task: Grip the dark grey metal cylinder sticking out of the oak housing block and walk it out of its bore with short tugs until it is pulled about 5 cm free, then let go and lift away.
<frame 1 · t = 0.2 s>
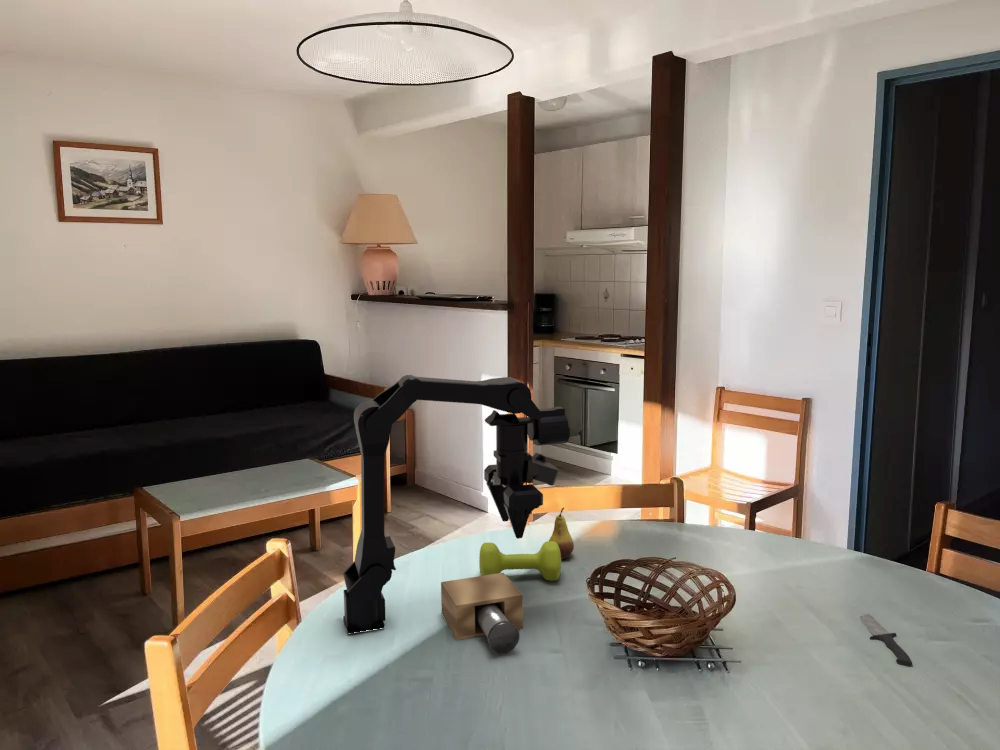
hand: (512, 529, 141), 14 cm above the table, tool pointing down, fingers open, 9 cm apart
knife: (877, 635, 131), on the table
dark grey metal cylinder: (490, 618, 131), point 3 cm above the table, slide at 0.0 cm
dumbbell: (520, 579, 155), on the table
fruit: (560, 557, 165), on the table
housing: (481, 621, 136), on the table
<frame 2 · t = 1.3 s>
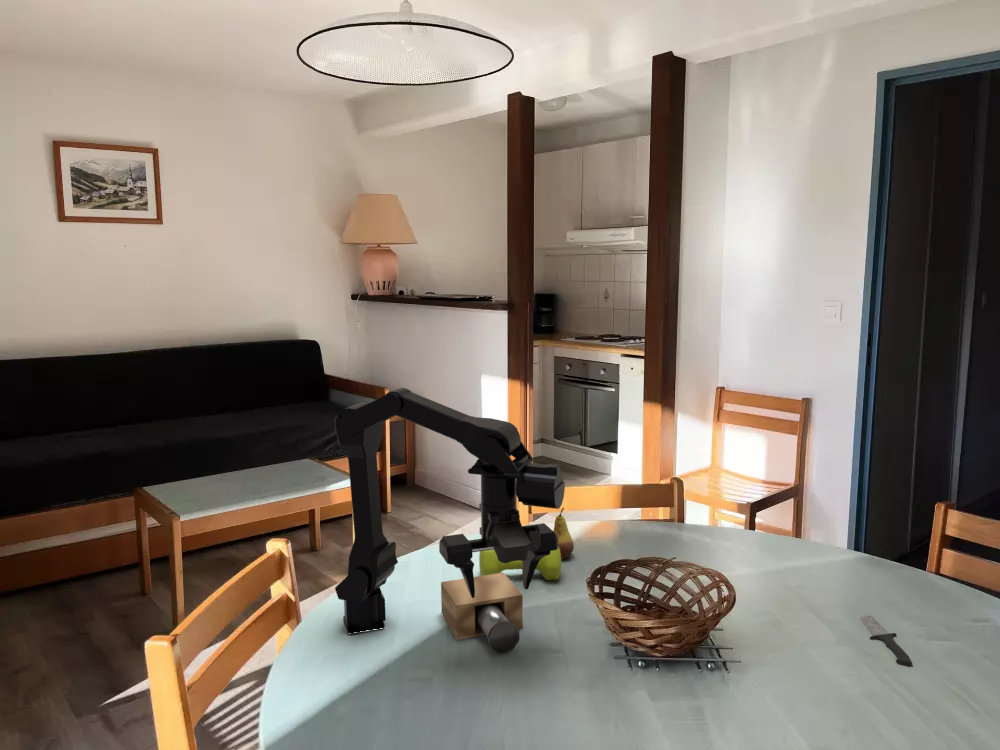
hand: (499, 592, 125), 10 cm above the table, tool pointing down, fingers open, 9 cm apart
nothing on the table moved.
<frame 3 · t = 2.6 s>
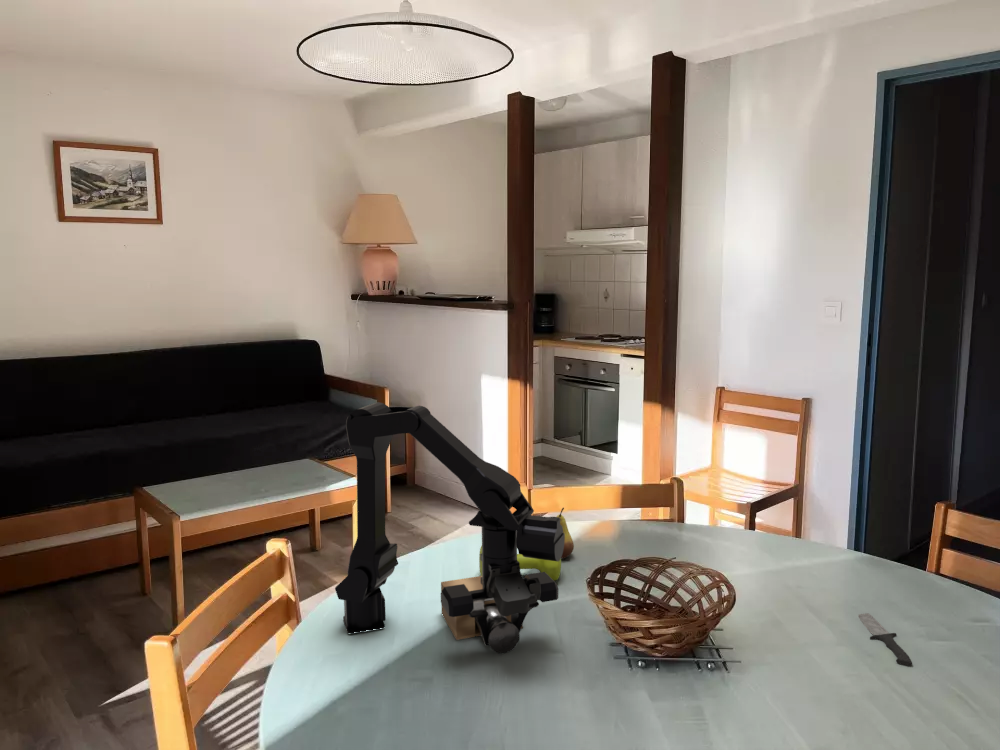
hand: (500, 641, 126), 1 cm above the table, tool pointing down, fingers closed on dark grey metal cylinder, 4 cm apart
dark grey metal cylinder: (490, 618, 131), point 3 cm above the table, slide at 0.0 cm, touching gripper
everything else where it was.
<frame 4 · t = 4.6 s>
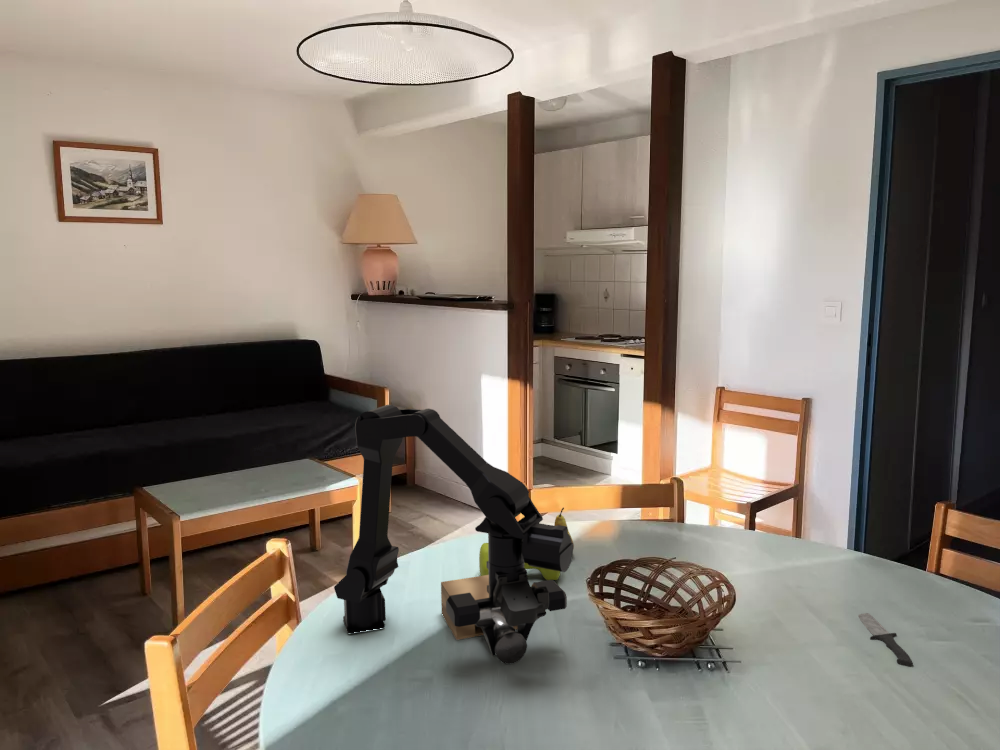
hand: (507, 651, 123), 1 cm above the table, tool pointing down, fingers closed on dark grey metal cylinder, 4 cm apart
dark grey metal cylinder: (496, 627, 128), point 3 cm above the table, slide at 3.4 cm, touching gripper
everything else where it was.
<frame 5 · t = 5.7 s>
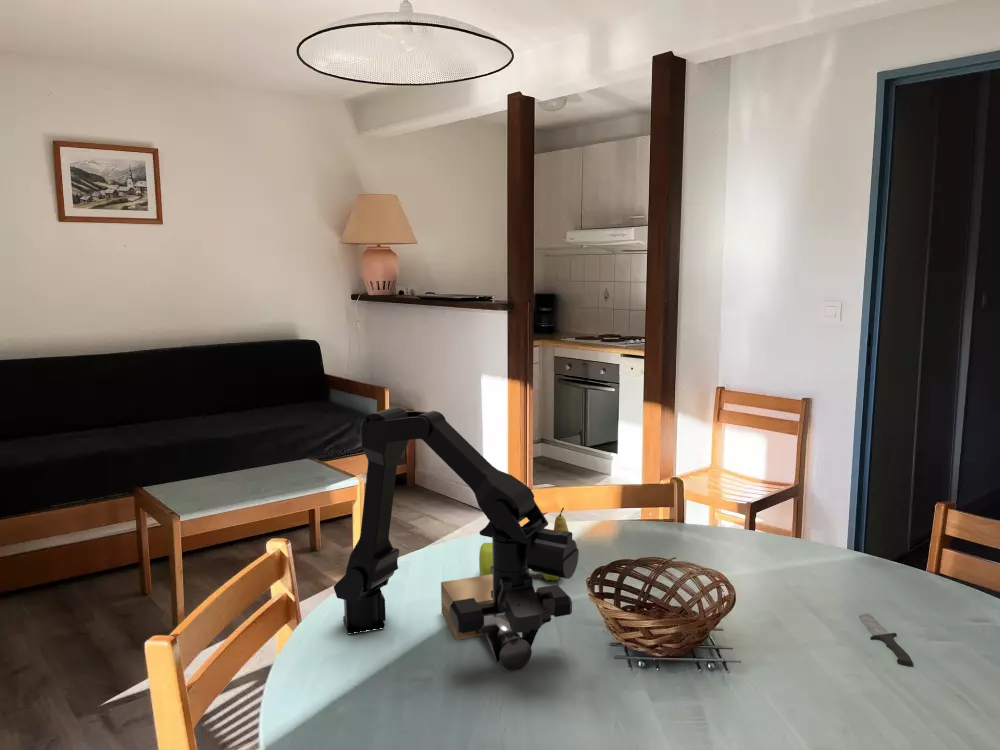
hand: (511, 658, 121), 1 cm above the table, tool pointing down, fingers closed on dark grey metal cylinder, 4 cm apart
dark grey metal cylinder: (500, 633, 126), point 3 cm above the table, slide at 5.5 cm, touching gripper
everything else where it was.
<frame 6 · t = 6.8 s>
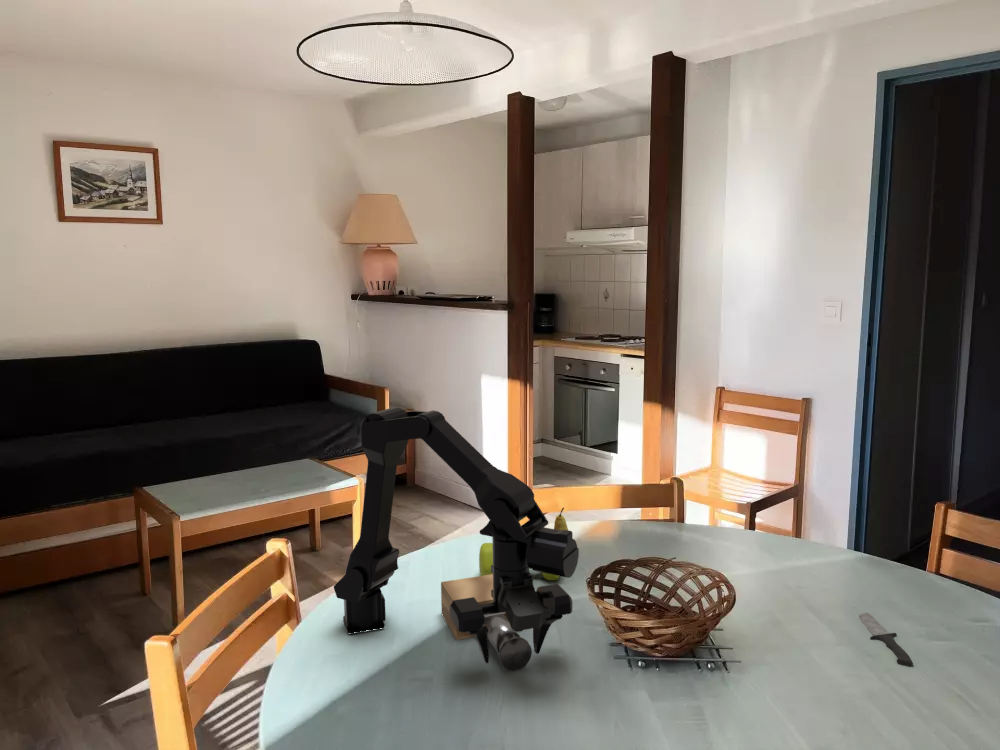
hand: (511, 657, 121), 1 cm above the table, tool pointing down, fingers open, 8 cm apart
dark grey metal cylinder: (500, 633, 126), point 3 cm above the table, slide at 5.5 cm
everything else where it was.
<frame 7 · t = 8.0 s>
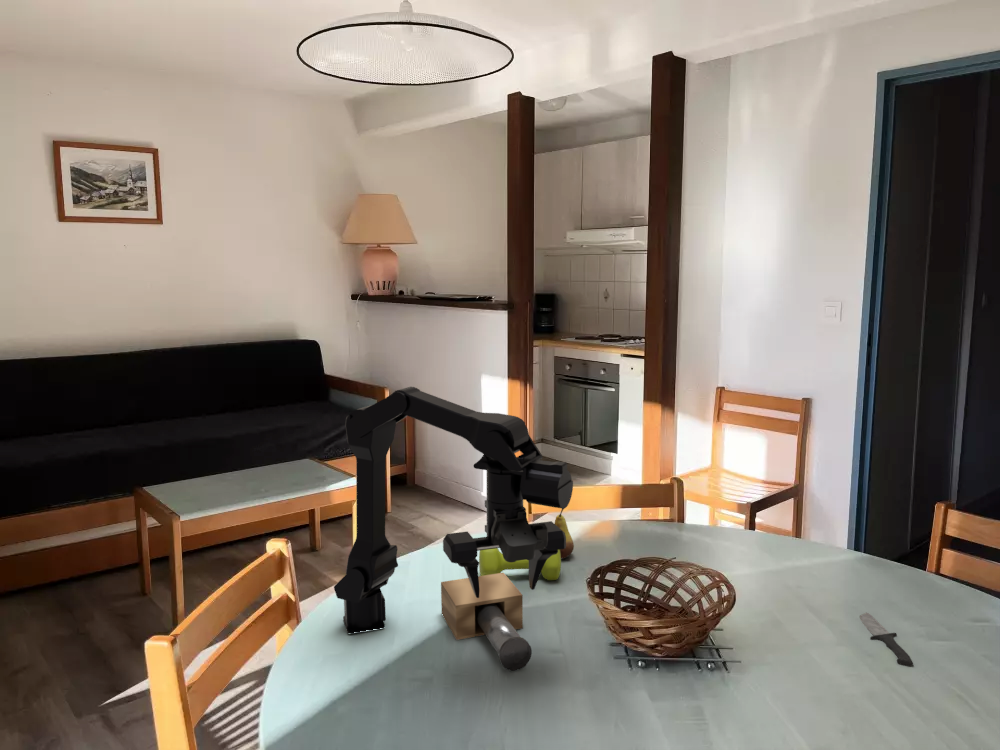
hand: (504, 592, 121), 12 cm above the table, tool pointing down, fingers open, 9 cm apart
nothing on the table moved.
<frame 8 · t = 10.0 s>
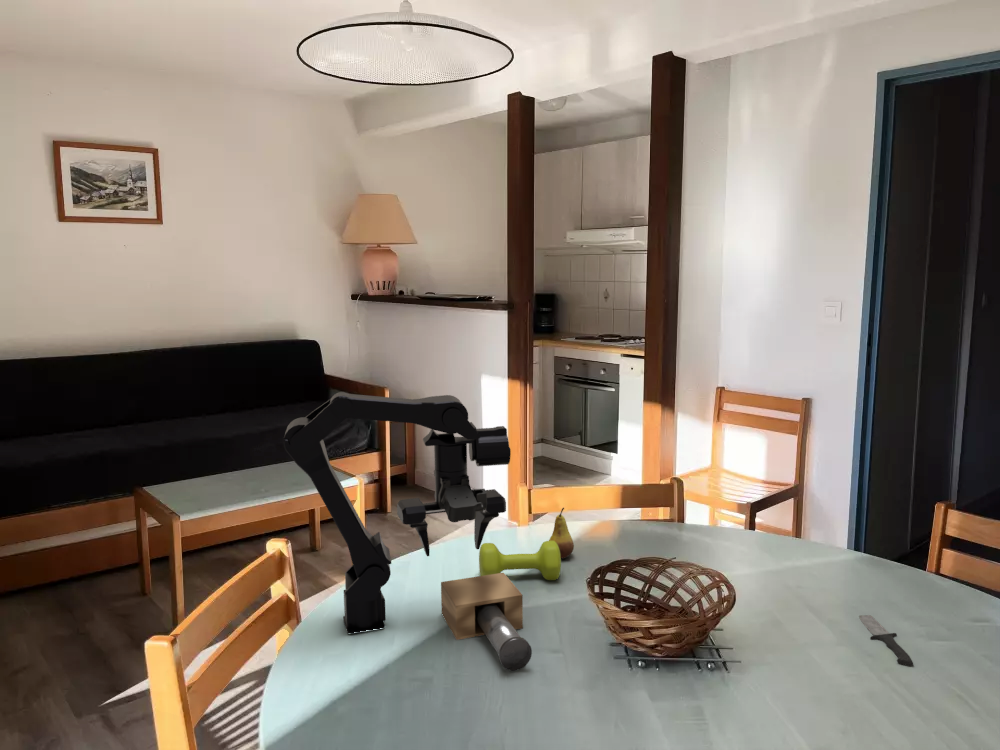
hand: (452, 552, 137), 12 cm above the table, tool pointing down, fingers open, 9 cm apart
nothing on the table moved.
at the end: dark grey metal cylinder slide at 5.5 cm; the gripper is holding nothing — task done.
